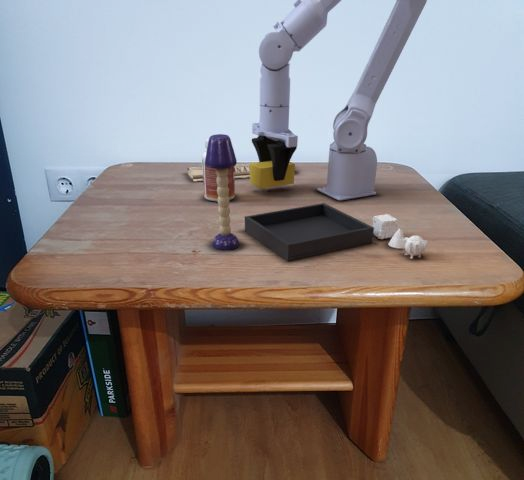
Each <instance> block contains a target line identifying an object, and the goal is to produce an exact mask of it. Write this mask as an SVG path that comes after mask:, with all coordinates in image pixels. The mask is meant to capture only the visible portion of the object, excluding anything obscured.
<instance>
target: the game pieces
mask: <svg viewBox="0 0 524 480" xmlns="http://www.w3.org/2000/svg"><path fill="white" fill-rule="evenodd" d="M371 224H372V225H371V226H372V227H374V231H373V236H375V237H377V239H379V240H384V239H390V240H389V242H388V243H387V245H388V247H391V248H393V249H399V250H400V249H403V251H405V253H404V256H409V255H410V257H409V259H414V256H417V258H421V256H422V254H425V253H424V252H425V250H426V248H427V245H428V240H425V239H423V237H422V236H420V235H416V234H415V235H411V236H410V237H407V236H404V231H403V230H402V229H401V228H398V224H399V220H398V218H395V217H394V216H392V215H391V214H389V213H384V214H379V215H374V216H373V217H372V223H371ZM397 228H398V229H397Z"/></svg>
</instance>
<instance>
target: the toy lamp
mask: <svg viewBox="0 0 524 480" xmlns="http://www.w3.org/2000/svg"><path fill="white" fill-rule="evenodd" d="M208 138H209V141H208V147H207V148H206V151H207V153H206V159H205V164H206V166H207V167H209V168H213V169H216V174H217V179H216V182H217V185H218V187H217V194H218V202H217V204H218V209H217V212H218V215H219V216H218V223H219V233H218V234H216V235H215V237H214V238H213V240H212V247H213V248H215V249H217V250H221V251H230V250H234V249H237V248H238V247H239V246H240V241H239V238H238V237H237V236H236V235H235V234H234V233H232V231H231V230H232V229H231V228H232V227H231V225H230V224H231V217H230V213H231V209H230V208H231V207H230V200H229V197H228V194H229V189H228V186H227V185H228V177H227V174H228V168H231V167H233V166H235V165H236V164H238V163H237V157H236V154H235V153H236V152H235V150H234V146H233V143H232V139H231V137H230V136H229V135H228V134H223V133H218V134H212V135H210V136H209V137H208Z"/></svg>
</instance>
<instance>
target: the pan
mask: <svg viewBox="0 0 524 480" xmlns="http://www.w3.org/2000/svg"><path fill="white" fill-rule="evenodd" d="M373 231H374V227H372V225H370V224H367V223H365V222H364V221H361V220H360V219H357V218H355V217H353V216H351V215H349V214H348V213H346V212H343V211H341V210H339V209H338V208H335V207H333V206H331V205H330V204H327V203H326V202H321V203H317V204H311V205H305V206H299V207H294V208H293V207H292V208H287V209H280V210H275V211H269V212H263V213H258V214H257V213H256V214H252V215H246V216H244V232H245V233H247V234H248V235H249V236H251V237H252V238H254V239H255V240H257V241H258V242H260V243H261V244H262V245H264V246H265V247H267V248H268V249H269V250H271V251H272V252H274V253H276V255H279V256H280V257H281V258H282V259H284V260H285V261H287V262H290V261H296V260H299V259H303V258H308V257H313V256H318V255H322V254H327V253H331V252H336V251H340V250H344V249H349V248H354V247H358V246H363V245H368V244H372V243H373V239H374V234H373Z"/></svg>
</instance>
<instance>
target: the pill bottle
mask: <svg viewBox="0 0 524 480" xmlns="http://www.w3.org/2000/svg"><path fill="white" fill-rule="evenodd" d="M209 138H210V137H208V138H205V140H204V144H205V145H204V146H205V149H207V147H208V141H209ZM206 153H207V150H205V151H204V152H203V153H202V155H201V164H202V166H201V167H203V181H202V183H203V184H202V185H203V197H204V198H205V199H206V200H207V201H210V202H216V203H218V194H217V187H218V185H217V182H216V179H217V174H216V169H213V168H209V167H207V166H206V164H205V159H206ZM227 177H228V185H227V186H228V189H229V194H228V197H229V201H231V200H233V199H234V198H235V197H236V188H235V187H236V180H235V179H236V178H234V166H233V167H231V168H228V174H227Z"/></svg>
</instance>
